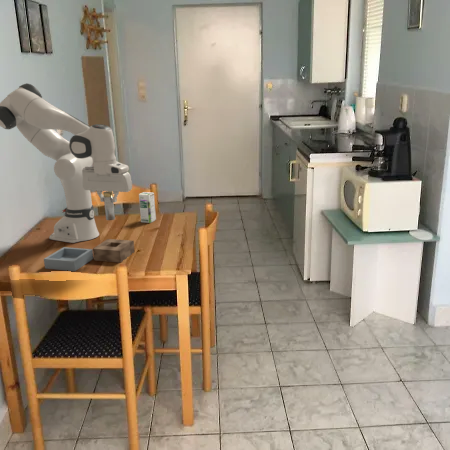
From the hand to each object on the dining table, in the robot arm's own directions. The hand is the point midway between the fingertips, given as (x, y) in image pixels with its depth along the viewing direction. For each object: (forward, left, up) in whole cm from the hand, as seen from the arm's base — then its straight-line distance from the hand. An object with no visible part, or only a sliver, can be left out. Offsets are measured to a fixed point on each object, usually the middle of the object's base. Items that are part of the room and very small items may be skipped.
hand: (108, 201), depth 195 cm
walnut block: (0, 0, -23) cm, 23 cm away
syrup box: (-7, +48, -23) cm, 54 cm away
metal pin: (0, 0, -7) cm, 7 cm away
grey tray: (-14, -11, -23) cm, 29 cm away
